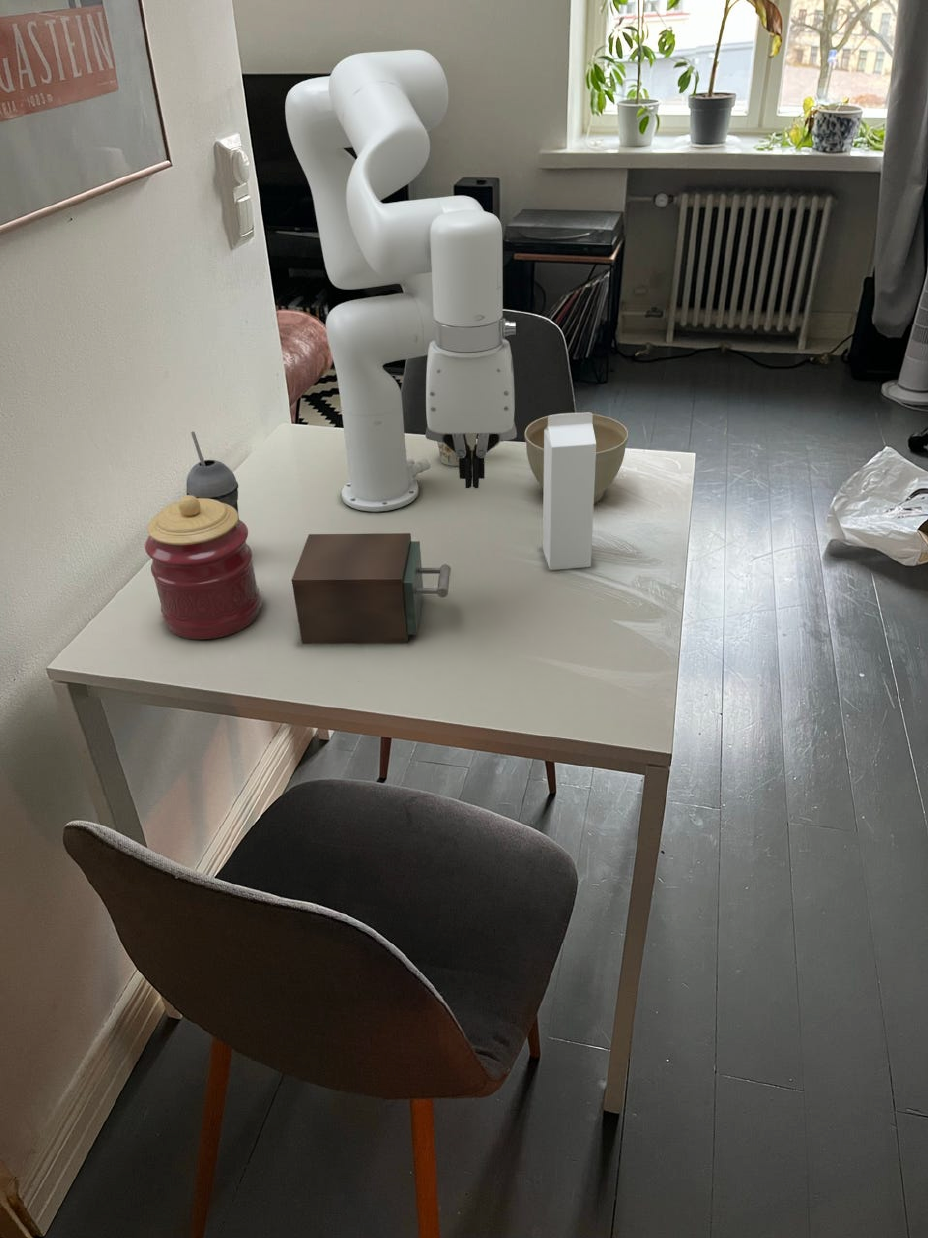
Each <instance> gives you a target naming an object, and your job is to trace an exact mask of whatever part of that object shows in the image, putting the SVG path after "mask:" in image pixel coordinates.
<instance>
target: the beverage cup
mask: <svg viewBox="0 0 928 1238" xmlns="http://www.w3.org/2000/svg"><path fill="white" fill-rule="evenodd" d="M190 435H191V437H192V439H193V443H194V447H195V450H196V454H197V455H198V459H199V462H197V463H196V464H195V465H194V466H192V468H191V469H190V471H189V472H188V475H187V477H186V490H185V492H186V496H187V495H192V496H195V497H196V498H206V499H213V500H217V501H219V502H221V503H225V504H228V505H230V506H232V507H233V508H234V509H235V510H236V511H237V513H238V519H239V520H240V515H239V505H238V500H239V483H238V481H237V479H236V476H235V474H234V472H233V470H231V469H230V467H229V466H228V465H226V464H225V463H223V462H222V461H219V460H216V459H204V457H203V453H202V450H201V447H200V444H199V441H198V437H197V435H196V432H195V431H191V432H190Z"/></svg>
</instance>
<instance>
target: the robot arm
mask: <svg viewBox="0 0 928 1238" xmlns="http://www.w3.org/2000/svg"><path fill="white" fill-rule="evenodd" d="M446 77H447V76H446V74H445V72H444V69H443V66H441V64H440V62H439V61H438V60H437V58H436V57H435V56H434V55H432V54H431V53H429V52H428V51H425V50H422V49H404V50H389V51H387V50H386V51H371V52H362V53H356V54H353V55H349V56H347V57H345V58H344V59H342V60H341V61H339V62H338V63H337V65H336V66H335V67H334V68H333V69H332V72H331V74H330V75H327V76H320V77H315V78H309V79H307V80H303V81H301V82H299V83H296V84H295V85H294V86H292V87H291V89H290V90H289V91H288V93H287V95H286V98H285V104H284V105H285V106H284V108H285V111H284V112H285V113H284V114H285V122H286V128H287V133H288V137H289V140H290V143H291V146H292V148H293V151H294V154H295V155H296V158H297V160H298V162H299V164H300V166H301V169H302V171H303V173H304V175H305V177H306V179H307V182H308V185H309V188H310V192H311V196H312V200H313V206H314V212H315V217H316V223H317V229H318V236H319V241H320V247H321V252H322V257H323V262H324V268H325V270H326V274H327V276H328V279H329V281H330V282H331V284H332V285H333V286H334V287H335V288H337V289H341V290H345V291H346V290H350V291H351V290H361V289H362V290H363V289H369V288H370V289H371V288H376V287H384V286H390V285H400V286H401V288H402V291H403V292H399V293H393V294H387V295H377V296H369V297H364V298H357V299H353V300H348V301H345V302H342V303H339V304H338V305H336V306H334V307H333V308H332V309H331V310H330V311H329V313H328V315H327V316H326V320H325V334H326V338H327V343H328V346H329V350H330V353H331V357H332V361H333V364H334V369H335V373H336V374H335V375H336V379H337V386H338V392H339V401H340V408H341V414H342V416H341V417H342V425H343V433H344V441H345V451H346V460H347V467H348V477H349V481H348V482H347V483H346V484H344V486H342V489H341V498H342V501H343V502H344V504H346V505H347V506H348V507H350V508H352V509H355V510H358V511H362V512H387V511H393V510H396V509H400V508H403V507H406V506H407V505H410V504H411V503H412V502H413V501H415V500H416V498H417V497H418V495H419V485H418V483H417V481H416V480H415V479H414V478H416V477H417V476H418V474H421V473H424V472H426V471H429V470H430V469H431V463H430V460H429V459H427V458H422V459H420V460H418V461H416V462H415V461H414V458H412V457H411V458H410V457H409V458H407V447H406V434H405V422H404V421H405V420H404V409H403V407H404V406H403V397H402V396H403V395H402V390H401V388H400V386H399V384H398V382H397V381H396V379H395V378H394V377H393V376H392V375H391V374H390V373H388V371H386V370H385V368H384V367H383V366H384V365H385V364H389V363H393V362H397V361H404V360H409V359H413V358H414V359H415V358H420V357H424V356H427V359H426V379H425V411H426V412H425V413H426V414H425V415H426V424H427V426H426V431H425V438H426V440H429V441H433V442H436V443H437V442H444V443H445V444H446V445H447V446H448V447H450V448H451V449H452V450H453V451H454V452H455V453H456V455H457V457H459V466H458V470H459V472H458V473H459V480H464V488H465V489H470V488H473V489H479V487H480V480H484V479H485V475H486V472H485V471H486V467H485V465H486V464H485V458H486V457H487V454H488V453H489V451H491V450H492V449H494V448H495V447H496V446H495V445H496V444H497V443H498V442H500V443H503V442H507V441H511V440H515V439H516V438H517V436H518V432H517V431H518V430H517V426H516V423H515V408H516V393H515V392H516V391H515V372H514V361H513V354H512V350H511V345H510V342H509V341H508V340H507V339H506V337H509V336H510V335H511V336H513V335H516V334H517V333H516V332H517V331H516V329H517V326H516V325H517V323H516V321H510V320H506V318H504V317H503V316H504V314H503V313H504V312H503V309H504V305H503V304H504V303H503V302H504V300H503V294H504V292H503V289H504V287H503V286H504V284H503V283H504V282H503V273H504V272H503V225H502V223H501V221H500V219H499V218H498V216H497V215H495V214H494V213H491V212H488V211H485V210H484V208H483V206H482V205H481V204H480V203H479V201H478V200H477V199H475V198H474V197H471V196H467V195H451V196H442V197H441V196H440V197H434V198H433V197H430V198H429V197H428V198H422V199H412V200H403V201H397V202H389V203H383V202H382V201H383V200H385V199H386V198H388V197H389V196H391V195H393V194H394V193H396V192H398V191H399V190H400V189H402V188H404V187H405V186H407V185H408V184H409V183H411V182H412V181H413V180H415V179H416V178H417V177H418V176H419V174H420V173H421V172H422V171H423V169H424V168H425V167H426V165H427V162H428V159H429V157H430V152H431V141H430V137H429V134H428V132H430V131H432V130H433V129H435V128H436V127H437V126H438V125H439V124H441V122H442V121H443V119H444V118H445V116H446V114H447V110H448V106H449V95H450V94H449V86H448V81H447V78H446ZM347 148H352V149H353V151H354V152H355V156H356V157H357V158H356V159H355V157H354V156H352V155H351V153H350V152H348V151H347V150H346V149H347ZM465 434H477V439H476V445H475V446H474V450H473V453H472V450H470V447H469V445H468V444H467V440H466V435H465ZM494 446H495V447H494ZM493 447H494V448H493Z"/></svg>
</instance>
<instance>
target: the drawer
mask: <svg viewBox="0 0 928 1238" xmlns="http://www.w3.org/2000/svg"><path fill="white" fill-rule="evenodd" d="M421 555H422V553H421V542H420V541H419V540H417V541H416V540H415V541H414V540H413V541H412V540H411V543H410V548H409V553H408V558H407V564H406V569H405V574H404V579H403V590H404V602H405V614H406V625H407V634H408V636H410V635H411V636H412V635H417V634H418V628H419V621H420V614H421V608H422V602H423V595H437V596H438V597H439V598H446V597H447V596H448V595H449V590H450V589H449V588H450V579H451V569H452V568H451V566H450V565H449V564H447V563H444V564H442V565H441V566H439V567H422V566H423V565H422V556H421ZM427 574H428V575H429V574H430V575H432V574H435V575H436V574H438V581H437V587H424V580H423V575H427Z"/></svg>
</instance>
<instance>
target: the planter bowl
mask: <svg viewBox="0 0 928 1238" xmlns="http://www.w3.org/2000/svg"><path fill="white" fill-rule="evenodd" d="M574 413H575V412H563V413H561V412H560V413H555V414H553V415H560V414H574ZM592 415H593V418H592V424H593V429H594V434H595V439H596V461H595V484H594V504H595V503H597V502H599V501H600V500H601V499H602V498H603V497H604V493H605V491H606V489H607V488H609V486H610V485H611V484H612V483H613V481H614V480H615V478H616V477H617V475H618V473H619V471H620V469H621V467H622V464H623V462H624V459H625V454H626V453H625V452H626V446H627V444H628V440H629V431H628V429H627V428H626V426H625V425H624V424H623V423H621V422H619V420H616V419H614V418H612V417H609V416H606V415H605V416H604V415H601V414H596V413H592ZM549 416H550V415H546V416H543V417H540V418H538V419H536V420H534V421H532V422H530V423H529V424H528V425H527V426H526V428H525V430H524V434H523V435H524V441H525V445H526V457H527V461H528V465H529V467H530V470H531V472H532V474H533V476H534V478H535V480H536V482H538V484H539V485H540V487H541V488H542V489H543V490H544V430H545V429H546V428H547V427H548V417H549Z"/></svg>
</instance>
